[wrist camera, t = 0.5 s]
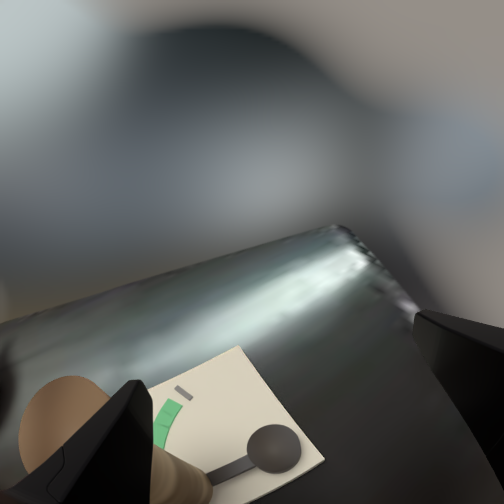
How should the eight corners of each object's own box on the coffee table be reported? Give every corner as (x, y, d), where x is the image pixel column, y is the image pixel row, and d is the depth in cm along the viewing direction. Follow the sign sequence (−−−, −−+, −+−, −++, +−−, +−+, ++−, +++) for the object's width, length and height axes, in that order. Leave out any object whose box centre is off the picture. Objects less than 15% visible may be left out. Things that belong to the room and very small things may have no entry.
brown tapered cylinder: (279, 415, 19) (238, 292, 11) (317, 464, 15) (319, 387, 7) (152, 474, 15) (18, 394, 8) (177, 528, 11) (25, 498, 4)
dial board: (240, 350, 26) (237, 343, 26) (324, 461, 16) (324, 458, 15) (118, 408, 22) (111, 403, 21) (162, 532, 12) (155, 532, 11)
